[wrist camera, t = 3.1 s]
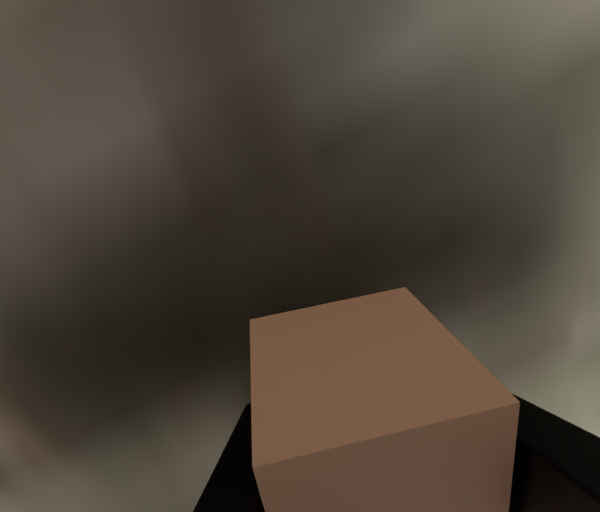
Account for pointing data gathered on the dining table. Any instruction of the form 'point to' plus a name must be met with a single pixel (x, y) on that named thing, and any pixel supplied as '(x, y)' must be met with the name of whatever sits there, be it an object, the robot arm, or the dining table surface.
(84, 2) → the dining table surface
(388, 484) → the peg
